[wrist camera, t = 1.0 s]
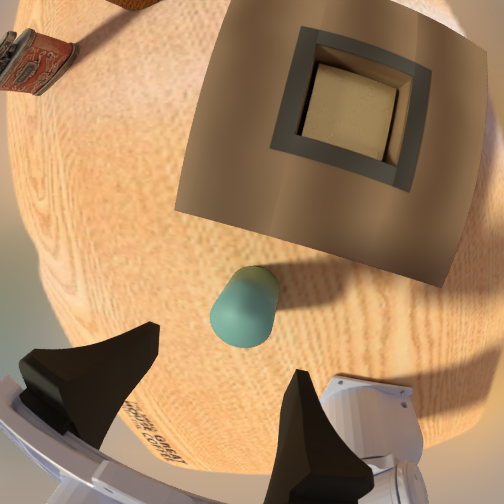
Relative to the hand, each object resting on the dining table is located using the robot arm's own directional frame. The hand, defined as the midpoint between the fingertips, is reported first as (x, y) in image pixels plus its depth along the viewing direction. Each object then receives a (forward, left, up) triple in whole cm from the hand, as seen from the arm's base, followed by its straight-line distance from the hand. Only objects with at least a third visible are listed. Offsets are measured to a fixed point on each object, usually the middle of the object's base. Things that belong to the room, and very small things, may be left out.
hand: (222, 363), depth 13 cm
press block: (-3, -14, -9) cm, 17 cm away
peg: (0, 0, -9) cm, 9 cm away
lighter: (+27, -17, -9) cm, 33 cm away
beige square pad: (-3, -14, -6) cm, 16 cm away
